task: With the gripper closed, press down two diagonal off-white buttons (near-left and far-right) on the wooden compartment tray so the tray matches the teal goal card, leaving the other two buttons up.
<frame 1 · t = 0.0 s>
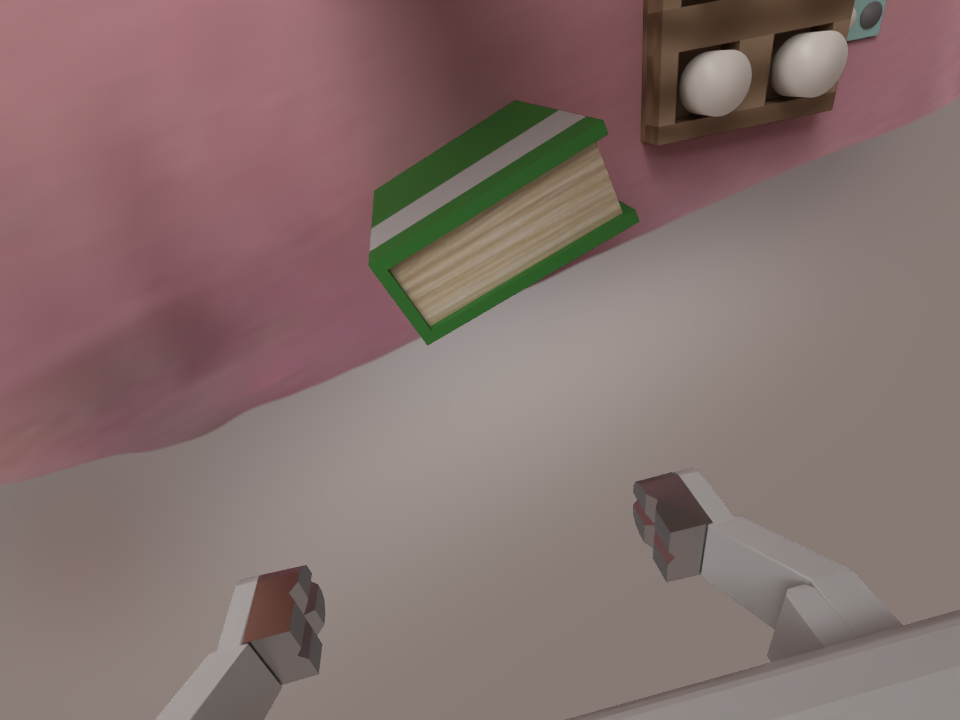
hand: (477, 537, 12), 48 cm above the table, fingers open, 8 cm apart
button b: (713, 83, 48), point 5 cm above the table, slide at 0.0 cm
hardback book: (460, 177, 54), on the table
button d: (807, 65, 49), point 5 cm above the table, slide at 0.0 cm
wooden compartment tray: (734, 18, 50), on the table
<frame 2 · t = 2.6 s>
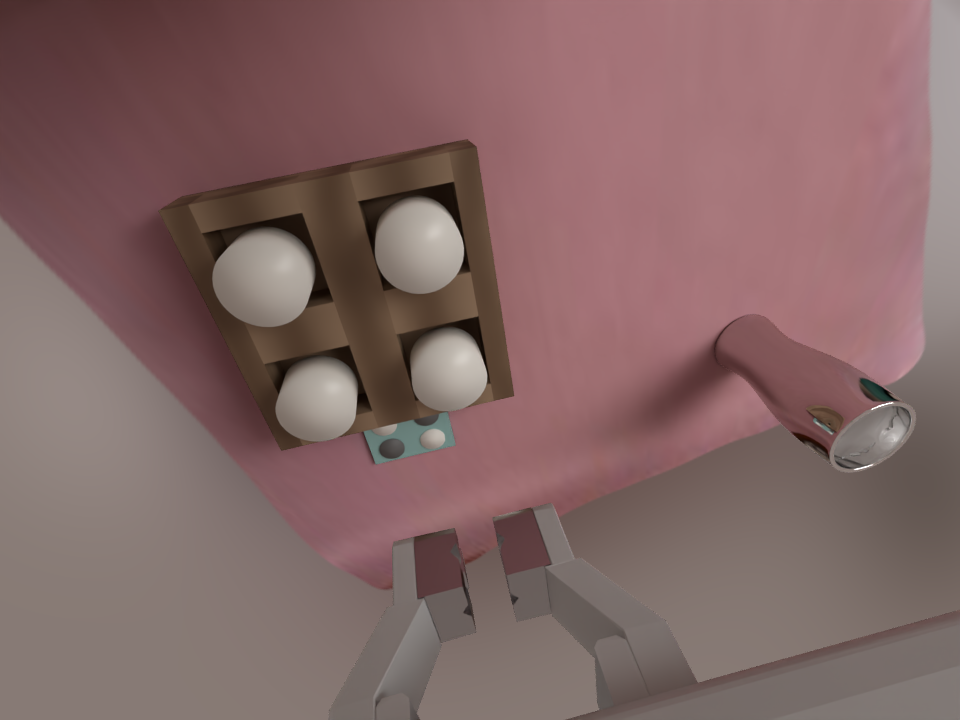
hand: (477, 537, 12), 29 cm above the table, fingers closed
button b: (267, 276, 31), point 5 cm above the table, slide at 0.0 cm
beer glass: (741, 340, 48), on the table
goal card: (408, 429, 46), on the table
button c: (447, 368, 37), point 5 cm above the table, slide at 0.0 cm
button d: (319, 398, 37), point 5 cm above the table, slide at 0.0 cm
button a: (418, 244, 32), point 5 cm above the table, slide at 0.0 cm
wooden compartment tray: (367, 297, 39), on the table
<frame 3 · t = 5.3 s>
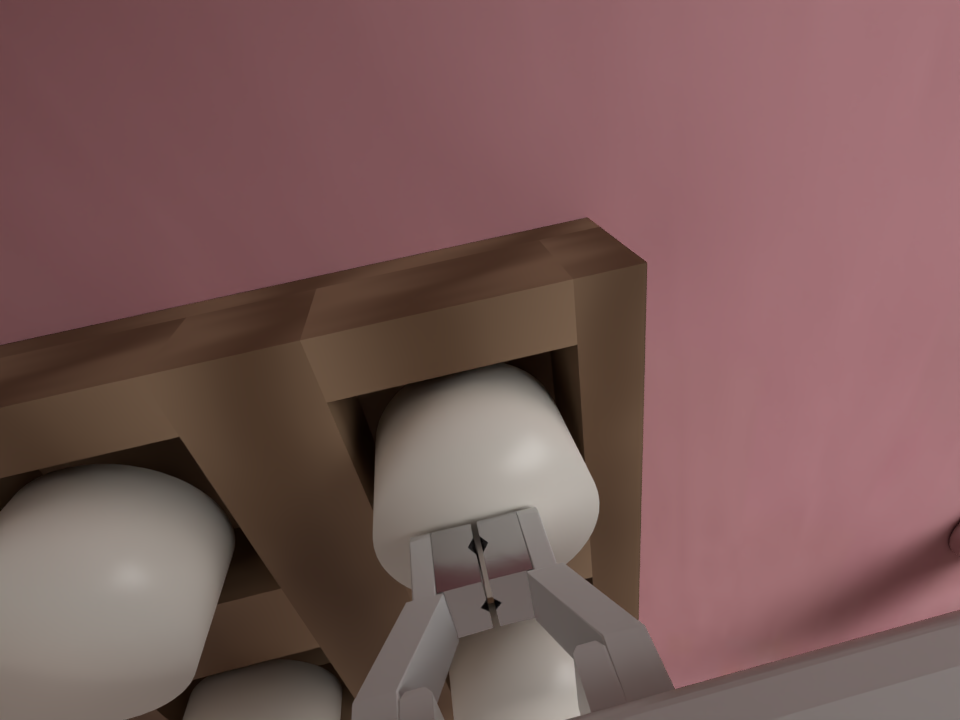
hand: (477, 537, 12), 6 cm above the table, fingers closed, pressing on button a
button b: (96, 594, 12), point 5 cm above the table, slide at 0.0 cm
button c: (525, 679, 18), point 5 cm above the table, slide at 0.0 cm
button a: (478, 479, 13), point 5 cm above the table, slide at 0.7 cm, touching gripper
wooden compartment tray: (360, 512, 20), on the table
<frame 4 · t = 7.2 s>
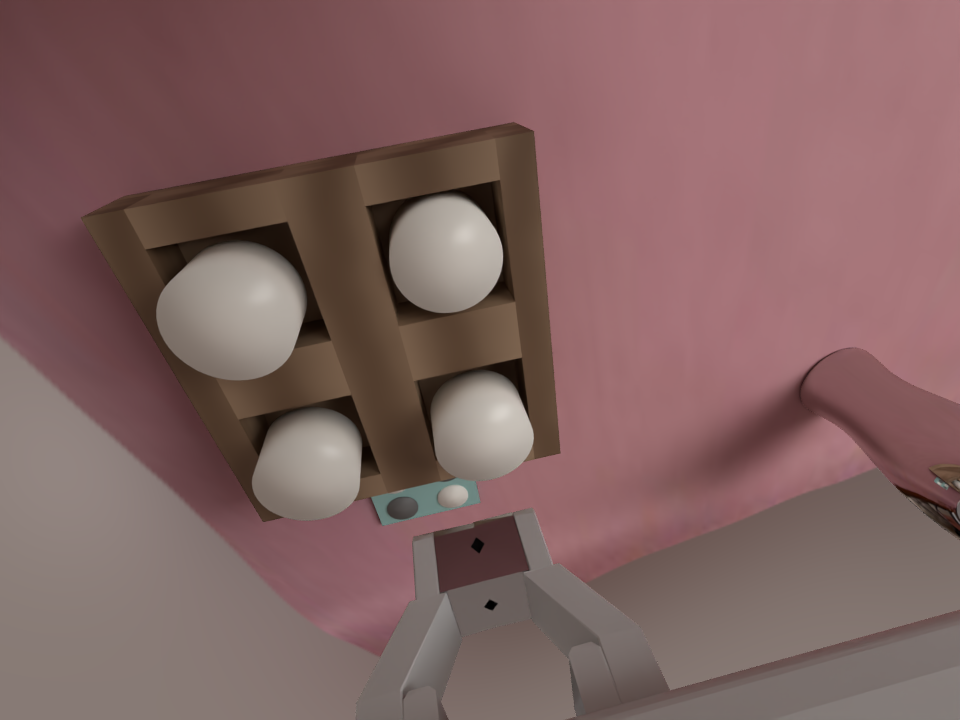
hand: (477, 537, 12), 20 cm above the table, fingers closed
button b: (239, 310, 22), point 5 cm above the table, slide at 0.0 cm
beer glass: (833, 378, 39), on the table
goal card: (423, 484, 37), on the table
button c: (480, 425, 28), point 5 cm above the table, slide at 0.0 cm
button d: (311, 463, 28), point 5 cm above the table, slide at 0.0 cm
button a: (443, 250, 25), point 3 cm above the table, slide at 2.5 cm
wooden compartment tray: (375, 328, 30), on the table
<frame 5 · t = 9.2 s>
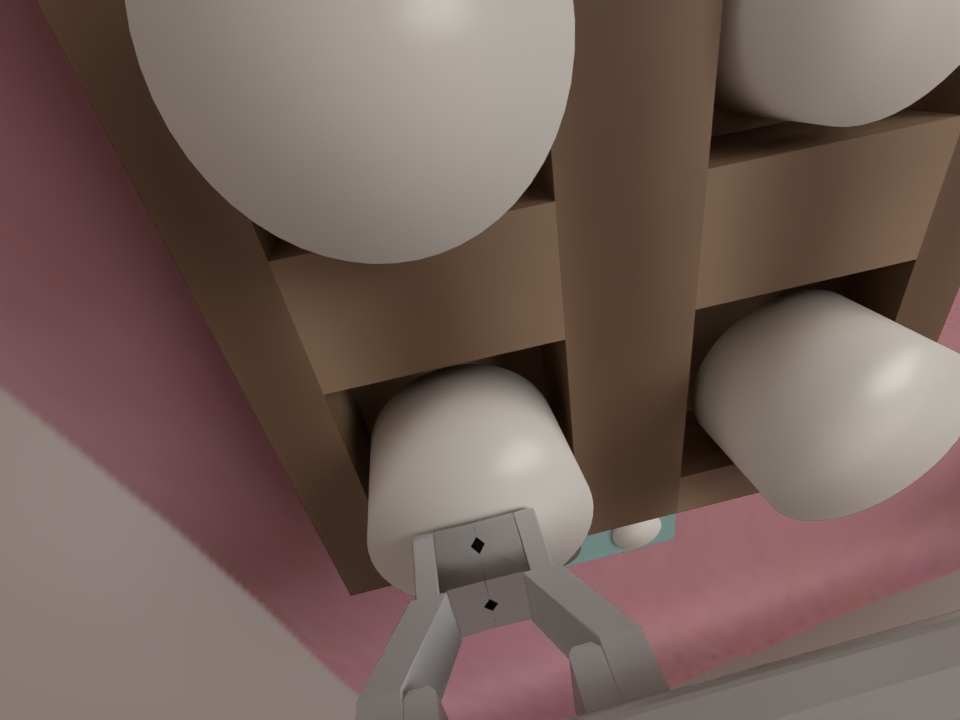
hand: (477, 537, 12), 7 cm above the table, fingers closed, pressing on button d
button b: (372, 60, 8), point 5 cm above the table, slide at 0.0 cm
goal card: (592, 512, 23), on the table
button c: (818, 404, 14), point 5 cm above the table, slide at 0.0 cm
button d: (473, 482, 13), point 5 cm above the table, slide at 0.2 cm, touching gripper
wooden compartment tray: (576, 217, 15), on the table
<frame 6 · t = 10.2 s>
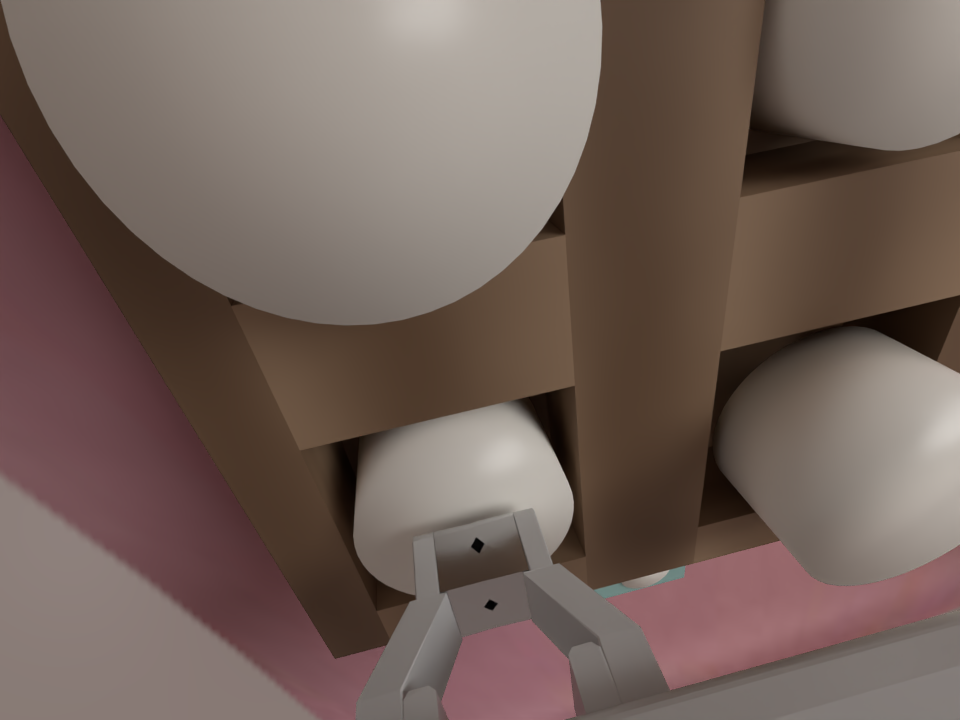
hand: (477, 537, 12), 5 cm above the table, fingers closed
button b: (346, 75, 6), point 5 cm above the table, slide at 0.0 cm
goal card: (597, 551, 21), on the table
button c: (855, 455, 12), point 5 cm above the table, slide at 0.0 cm
button d: (458, 480, 14), point 3 cm above the table, slide at 2.4 cm
wooden compartment tray: (584, 243, 14), on the table
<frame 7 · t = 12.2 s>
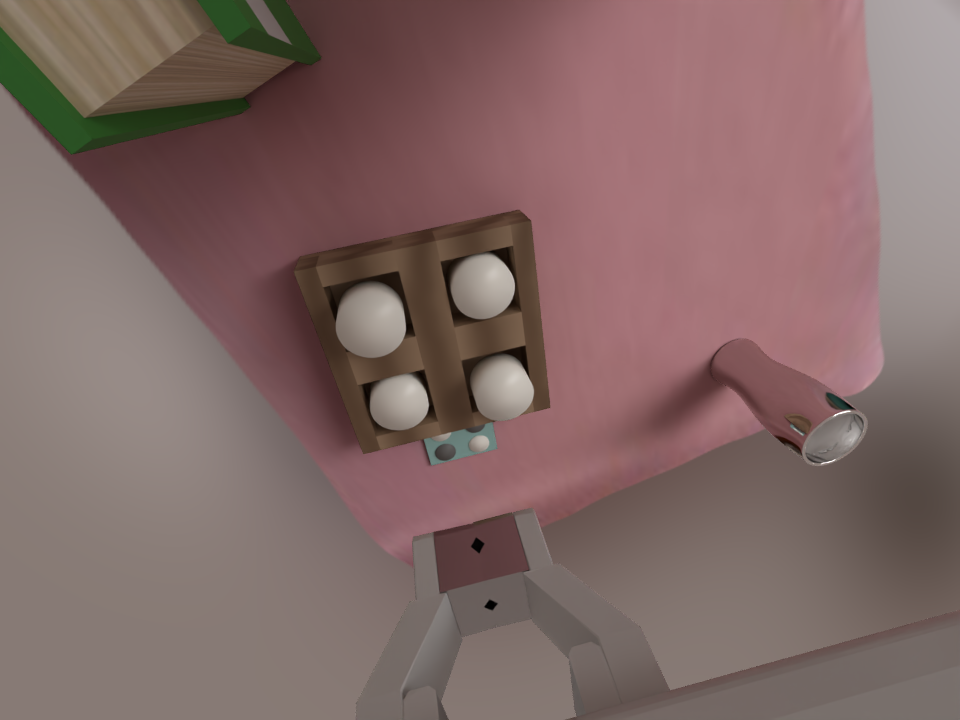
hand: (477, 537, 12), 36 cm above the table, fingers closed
button b: (371, 319, 41), point 5 cm above the table, slide at 0.0 cm
beer glass: (732, 359, 58), on the table
goal card: (459, 435, 56), on the table
button c: (501, 387, 47), point 5 cm above the table, slide at 0.0 cm
button d: (398, 397, 48), point 3 cm above the table, slide at 2.4 cm
button a: (480, 283, 44), point 3 cm above the table, slide at 2.5 cm
wooden compartment tray: (434, 329, 48), on the table
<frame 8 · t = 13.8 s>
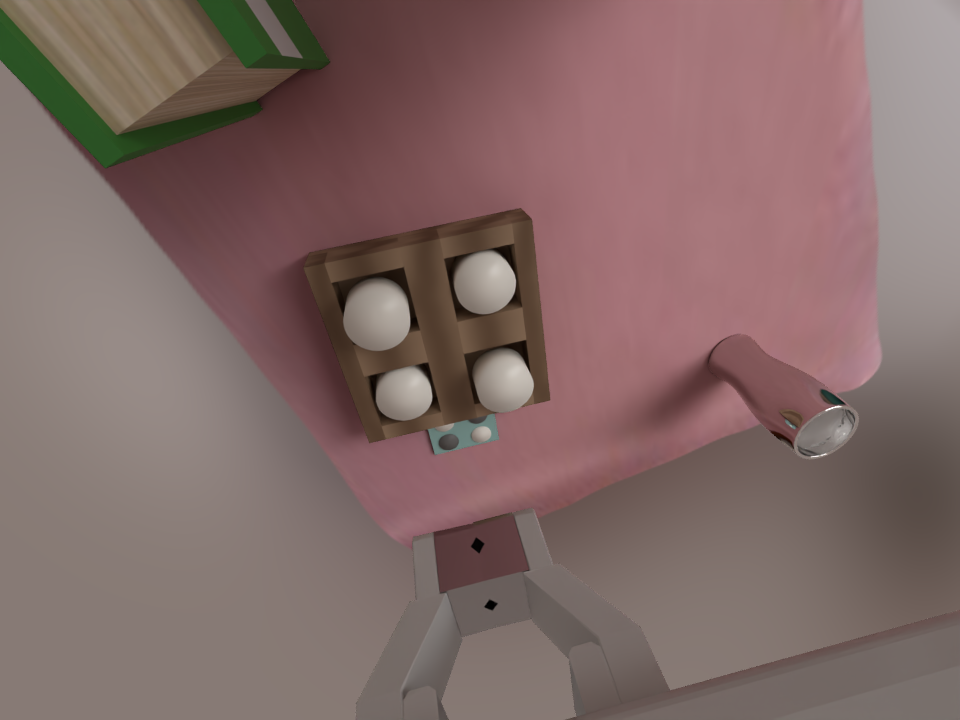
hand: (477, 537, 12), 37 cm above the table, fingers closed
button b: (377, 313, 43), point 5 cm above the table, slide at 0.0 cm
beer glass: (730, 355, 59), on the table
goal card: (462, 426, 58), on the table
button c: (502, 379, 49), point 5 cm above the table, slide at 0.0 cm
button d: (403, 388, 50), point 3 cm above the table, slide at 2.4 cm
button a: (482, 279, 45), point 3 cm above the table, slide at 2.5 cm
wooden compartment tray: (438, 324, 50), on the table
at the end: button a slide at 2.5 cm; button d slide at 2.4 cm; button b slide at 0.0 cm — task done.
